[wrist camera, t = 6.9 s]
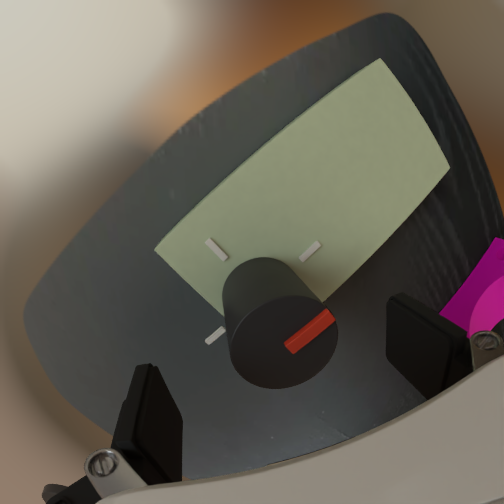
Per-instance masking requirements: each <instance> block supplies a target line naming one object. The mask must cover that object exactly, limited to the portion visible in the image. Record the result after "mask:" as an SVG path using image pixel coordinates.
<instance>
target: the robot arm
mask: <svg viewBox="0 0 504 504" xmlns="http://www.w3.org/2000/svg"><path fill="white" fill-rule="evenodd" d="M467 333H468V332H467V331H466V330H464V329H463V328H461V327H459V326H458V325H456V324H455V323H453V322H451V321H450V320H448V319H447V318H445V317H443V316H442V315H440V314H438V313H437V312H435V311H433V310H432V309H430V308H428V307H427V306H425V305H423V304H422V303H420V302H418V301H417V300H415V299H413V298H412V297H410V296H408V295H407V294H405V293H399V294H396V295H394V296H391V297H390V299H389V301H388V302H387V330H386V357H387V359H388V361H389V362H390V363H391V364H392V365H393V366H394V367H395V368H396V369H397V370H398V371H399V372H400V373H401V374H402V375H403V376H404V377H405V378H406V379H407V380H408V381H409V382H410V383H411V384H412V385H413V386H414V387H415V388H416V389H417V390H418V391H419V392H420V393H421V394H422V395H423V396H424V397H425V398H426V399H427V400H428V401H426V402H424V403H423V404H421V405H419V406H417V407H416V408H414V409H412V410H410V411H408V412H407V413H405V414H403V415H401V416H399V417H397V418H395V419H393V420H391V421H389V422H387V423H385V424H383V425H381V426H379V427H376V428H374V429H372V430H370V431H368V432H365V433H363V434H361V435H358V436H356V437H354V438H351V439H349V440H346V441H344V442H341V443H339V444H336V445H333V446H331V447H328V448H325V449H322V450H320V451H317V452H314V453H311V454H308V455H305V456H301V457H298V458H295V459H291V460H288V461H285V462H281V463H277V464H274V465H270V466H266V467H262V468H257V469H253V470H248V471H244V472H239V473H233V474H228V475H222V476H217V477H211V478H204V479H197V480H189V481H182V432H183V420H182V416H181V413H180V412H179V410H178V408H177V406H176V404H175V402H174V400H173V398H172V396H171V394H170V392H169V390H168V388H167V386H166V384H165V382H164V379H163V377H162V375H161V373H160V371H159V369H158V367H157V366H154V367H153V365H152V364H150V363H149V364H144V365H138V366H136V368H135V372H134V375H133V378H132V381H131V385H130V388H129V391H128V395H127V398H126V400H125V401H124V402H123V404H122V407H121V411H120V414H119V418H118V421H117V425H116V429H115V432H114V436H113V440H112V444H111V448H103V449H99V450H96V451H94V452H93V453H92V454H90V455H89V456H88V458H87V459H86V461H85V464H84V470H85V473H86V476H84V477H83V478H81V479H80V480H78V481H77V482H75V483H74V484H72V485H70V486H69V487H67V488H66V489H64V490H62V491H61V492H59V493H58V494H56V495H54V496H53V497H51V498H50V499H49V500H48V501H47V503H46V504H504V344H503V341H502V338H501V337H500V336H499V335H498V334H497V333H495V332H492V331H488V330H483V331H478V332H476V333H474V334H473V335H472V336H471V338H470V339H469V338H467Z"/></svg>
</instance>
